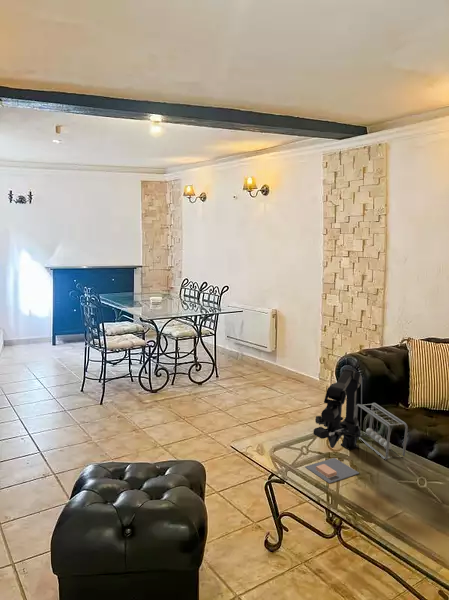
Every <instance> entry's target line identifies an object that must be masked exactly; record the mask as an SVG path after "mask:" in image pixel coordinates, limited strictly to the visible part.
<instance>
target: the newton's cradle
mask: <svg viewBox="0 0 449 600" xmlns="http://www.w3.org/2000/svg"><path fill="white" fill-rule="evenodd" d="M370 405H371V408H369V407H367V406H370ZM359 408H361V410H363V411H365V412H366V413H367V415H368V418H369V425H368V428H366V430H365V434H367V435H366V436H370V438H371V439H373V440H374V441H375V442H376V443H378V444H379V445H380V446H382V447H383V448H384V449H385V456H384V455H383V454H382V453H380V452H379V451H378V450H377V449H375V447H373V446H372V445H370V443H368V442H367V441H366V440H364V439H363V438H362V437H361V436H360V437H359V439H358V440H360V439H361V440H362V441H363V442H364V443H365V445H366V447H368V448H369V447H370V448H369V449H371V450H372V451H373V450H374V451H375V452H376V453H375V454H377V455H378V456H379V455H380V456H381V457H380V456H379V457H380V458H382V459H383V460H384V459H385V461H387V459H391V458H390V457H391V456H389V451H390V450H391V449H390V448H391V447H392V443H391V442H390V440H391V435H392V431H393V430H392V428H393V427H394V426H399V425H404V428H405V429H404V436H403V437H404V438H403V446H402V447H403V448H402V455H403V456H405V457H406V450H407V449H406V448H407V441H408V440H407V439H408V429H409V427H408V424H407V423H406V422H405V421H403V420H402V419H400V418H399V417H397V416H396V415H394V414H393V413H391V412H389V411H388V410H386V409H385V408H384V407H382V406H381V405H379V404H378V403H376V402H372V403H367V404H366V403H365V404H363V403H362V404H360V403H356V413H355V417H356V418H357V419H358V413H359ZM374 409H375V410H374ZM377 410H378V411H379V413H381V412H382V414H384V416H383V417H381V416H380V415H381V414H379V413H378V414H377V413H376V412H377ZM385 415H386V416H387V417H388V420H385V418H386V416H385ZM374 418H375V419H376V426H375V425H374ZM390 418H391V420H393V423H392V424H391V423H390V422H389V421H390ZM395 421H396V423H395ZM379 422H380V423H381V424H380V425H381V427H380V429H383V425H384V426H385V430H387V431H385V432H384V435H383V434H381V433H382V430H380V431H379V433H378V431H377V429H379V428H378V423H379ZM375 427H376V429H374V428H375ZM385 436H386V438H385ZM361 440H360V441H361ZM362 441H361V442H362ZM363 442H362V443H363ZM364 443H363V444H364ZM374 451H373V452H374Z"/></svg>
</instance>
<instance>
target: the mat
mask: <svg viewBox="0 0 449 600" xmlns="http://www.w3.org/2000/svg"><path fill="white" fill-rule="evenodd" d="M322 464H325V465H327V466H329V467H330V468H332V469H333V470H335V471H336V472H337V476H334V477H330V478H327V477H325V476H324V475H322V474H321V473H319V472H318V471H316V466H319V465H322ZM304 468H305V469H306V470H309V471H310V472H311V473H313V474H314V475H316V476H317V477H319V478H320V479H322V480H323V481H325V482H326V483H327V484H332V483H335V482H339V481H341V480H345V479H347V478H350V477H351V478H352V477H353V476H356V475H360V472H359V471H357V470H356V469H354V468H352V467H350V466H349V465H348V464H346V463H344V462H342V461H340V459H337V458H336V457H333V458H332V457H331V458H328V459H325V460H322V461H318V462H315V463H312V464H309V465H305V466H304Z"/></svg>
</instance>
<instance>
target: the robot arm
mask: <svg viewBox="0 0 449 600" xmlns="http://www.w3.org/2000/svg"><path fill="white" fill-rule="evenodd" d="M362 379H363V378H362V375H361V374H360V373H358V372H356V371H355V370H353V369H349V368H344V369H343V370H342V373H341V374H340V376H339V378H338V380H337V381H336V382H334V383H332V384H330V385H329V387H327V389H326V392H325V396H324V401H323V404H326V406H325V408H324V409H323V410H322V411H321V413H320V415H316V416H315V424H317V425H318V427H315V428H314V429H313V433H312V434H313V435H314V436H316V437H317V438H320V439H323V440H324V439H328V444H329V447H330V448H331V449H333V448H335V446H336V445H337V443H338V441H339V440H340V439H341V437H342V436H343V438H342V443H340V446H341V447H344V448H346V449H348V450H350V451H351V450H354V449H358V448H359V445H357V443H358V442H357V441H358V437H361V436H362V433H361V432H362V430H361V428H360V426H359V419H358V417H357V418H356V417H355V413H356V405H357V390H358V388H360V386H361V384H362V381H363V380H362ZM345 402H346V403H345ZM344 404H345V405H346V406H345V416H343V417H342V412H343V410H342V409H343V405H344ZM321 425H323V426H321ZM324 427H325V428H324Z"/></svg>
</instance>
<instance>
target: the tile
mask: <svg viewBox="0 0 449 600" xmlns="http://www.w3.org/2000/svg"><path fill="white" fill-rule="evenodd" d="M316 471H318V472H319V473H321V474H322V475H324V476H325V477H327V478H330V477H334V476H337V472H336V471H335V470H333V469H332V468H330V467H329V466H327V465H325V464H322V465H319V466H316Z"/></svg>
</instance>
